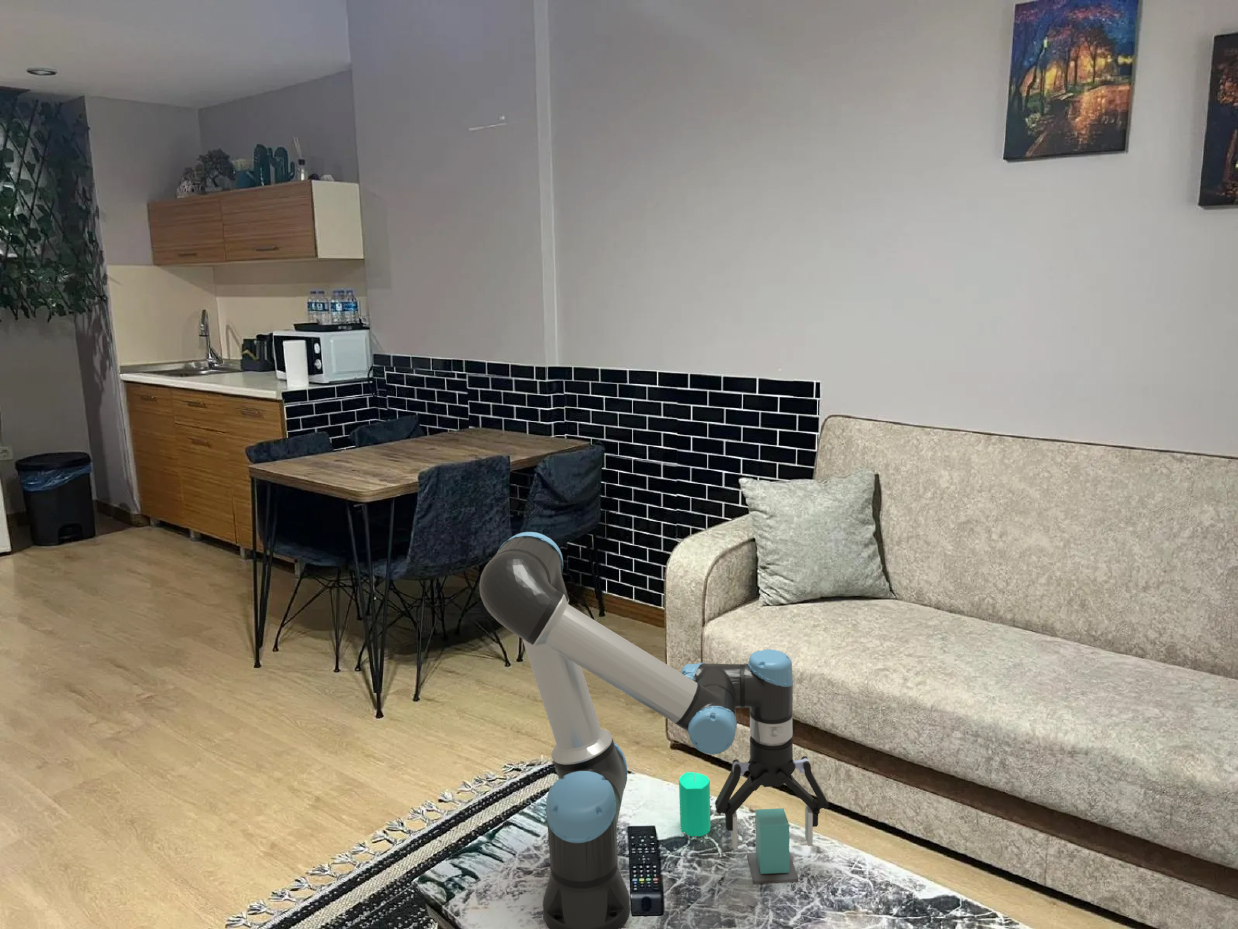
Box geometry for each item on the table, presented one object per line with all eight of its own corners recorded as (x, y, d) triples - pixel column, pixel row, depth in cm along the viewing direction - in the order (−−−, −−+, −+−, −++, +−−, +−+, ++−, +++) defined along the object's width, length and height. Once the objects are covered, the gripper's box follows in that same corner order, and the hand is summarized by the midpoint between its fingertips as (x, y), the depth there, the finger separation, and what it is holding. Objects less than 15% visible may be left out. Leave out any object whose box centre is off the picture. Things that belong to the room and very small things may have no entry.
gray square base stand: (754, 884, 165) (753, 834, 163) (747, 856, 173) (746, 808, 170) (798, 882, 165) (798, 832, 163) (789, 854, 173) (789, 806, 171)
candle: (675, 824, 183) (673, 769, 181) (701, 816, 186) (699, 762, 183) (689, 840, 178) (688, 784, 176) (716, 831, 181) (715, 776, 178)
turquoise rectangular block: (760, 874, 166) (760, 826, 164) (755, 856, 171) (755, 809, 169) (789, 872, 166) (789, 825, 164) (783, 854, 171) (783, 808, 169)
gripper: (703, 750, 159) (705, 859, 164) (846, 744, 160) (845, 852, 164) (699, 729, 167) (701, 833, 171) (835, 723, 167) (834, 827, 171)
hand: (771, 843), depth 168 cm, fingers open, 13 cm apart
